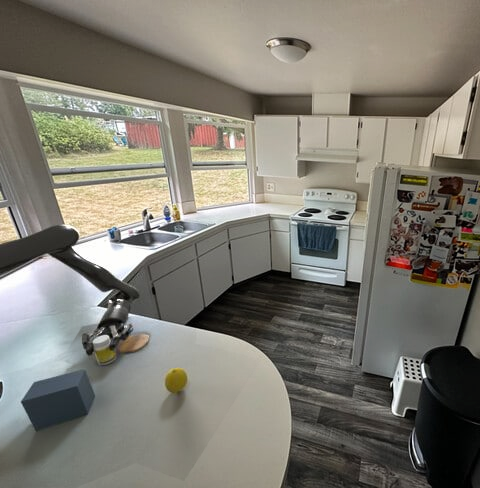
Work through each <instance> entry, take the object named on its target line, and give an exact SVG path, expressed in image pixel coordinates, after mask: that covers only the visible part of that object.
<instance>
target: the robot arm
mask: <svg viewBox="0 0 480 488" xmlns="http://www.w3.org/2000/svg"><path fill="white" fill-rule="evenodd" d="M79 239H80V232H79V231H78V230H77V229H76V228H75V227H73V226H71V225H66V224H53V225H51V226H48V227H46V228H43V229H42V230H39V231H37V232H34V233H32V234H29V235H27V236H23V237H20V238H17V239H13V240H8V241H6V242H2V243H0V277H2V276H4V275H6V274H8V273H11V272H12V271H15V270H17V269H18V268H21V267H23V266H24V265H26V264H28V263H30V262H32V261H33V260H35V259H37V258H39V257H41V256H44V255H49V256H50V257H52V258H54V259H55V260H57V261H58V262H60V263H62V264H63V265H64V266H67V267H69V268H70V269H72V270H73V271H74V272H75V273H77V274H79V275H80V276H82V278H84V279H86V281H88V282H89V283H90V284H91V285H92V286H93V287H95V288H96V289H97V290H98V291H100V292H102V293H107V292H110V291H113V290H114V291H117V292H115V293H114V294H112V295H111V296H110V297H109V298H108V299H107V306H108V307H107V309H106V311H105V312H104V313H103V314H102V316H101V318H100V320H99V321H98V324H97V326H96V329H95V330H94V331H93V332H90V333H88V332H84V333H82V334H81V344H82V348H83V350H85V354H86V355H87V356H88V357H90V356H92V355H93V354H94V350H93V347H94V345H93V340H94V339H96V338H97V337H99V336H102V335H108V336H109V338H110V340H111V342H110V344H109V348H110V351H112V350H114V349H116V348H118V345H119V344H120V343H121V341H123V340H126V339H127V338H129V337H130V335H131V334H132V332H133V331H134V325H133V323H128V324H127V322H128V319H129V314H130V311H131V309H132V304H133V303H134V302H136V301H137V300H139V298H140V295H141V294H140V291H139V290H138V288H136V287H134V286H133V285H130V284H129V283H127V282H124V281H123V280H121V279H120V278H118V277H116V275H114V274H113V273H112V272H111V271H110V270H109V269H107V268H106V267H104V266H103V265H101V264H99V263H97V262H95V261H93V260H91V259H89V258H87V257H85V256H84V255H82V254H81V253H79V252H78V251H77V249H76V248H74V246H75V245H76V244H77V243H78V242H79ZM126 324H127V325H126Z"/></svg>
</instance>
